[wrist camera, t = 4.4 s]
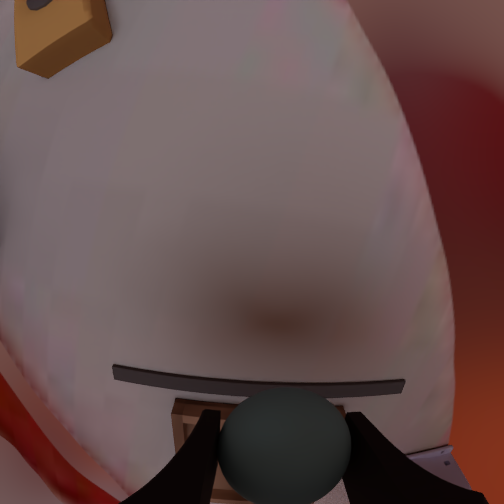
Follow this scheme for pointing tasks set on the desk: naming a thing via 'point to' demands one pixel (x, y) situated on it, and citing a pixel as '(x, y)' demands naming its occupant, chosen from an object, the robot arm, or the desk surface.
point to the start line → (252, 384)
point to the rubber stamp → (58, 33)
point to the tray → (189, 414)
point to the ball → (284, 447)
